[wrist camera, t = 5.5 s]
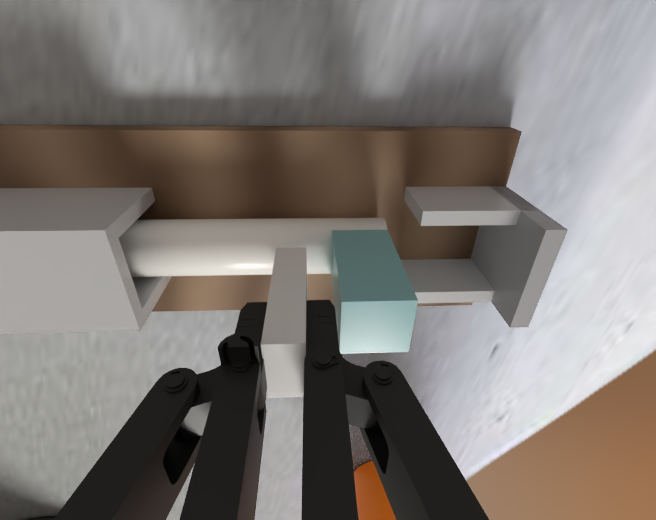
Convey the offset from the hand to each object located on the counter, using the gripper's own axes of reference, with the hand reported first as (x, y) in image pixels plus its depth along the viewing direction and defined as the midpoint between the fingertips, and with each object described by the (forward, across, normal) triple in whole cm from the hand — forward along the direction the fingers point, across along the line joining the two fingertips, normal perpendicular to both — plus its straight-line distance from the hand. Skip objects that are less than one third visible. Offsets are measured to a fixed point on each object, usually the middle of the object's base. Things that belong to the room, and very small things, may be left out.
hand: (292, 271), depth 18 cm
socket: (+5, +10, 0) cm, 11 cm away
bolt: (+4, -5, 0) cm, 6 cm away
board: (+6, -2, 0) cm, 6 cm away
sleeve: (+5, -12, 0) cm, 13 cm away
